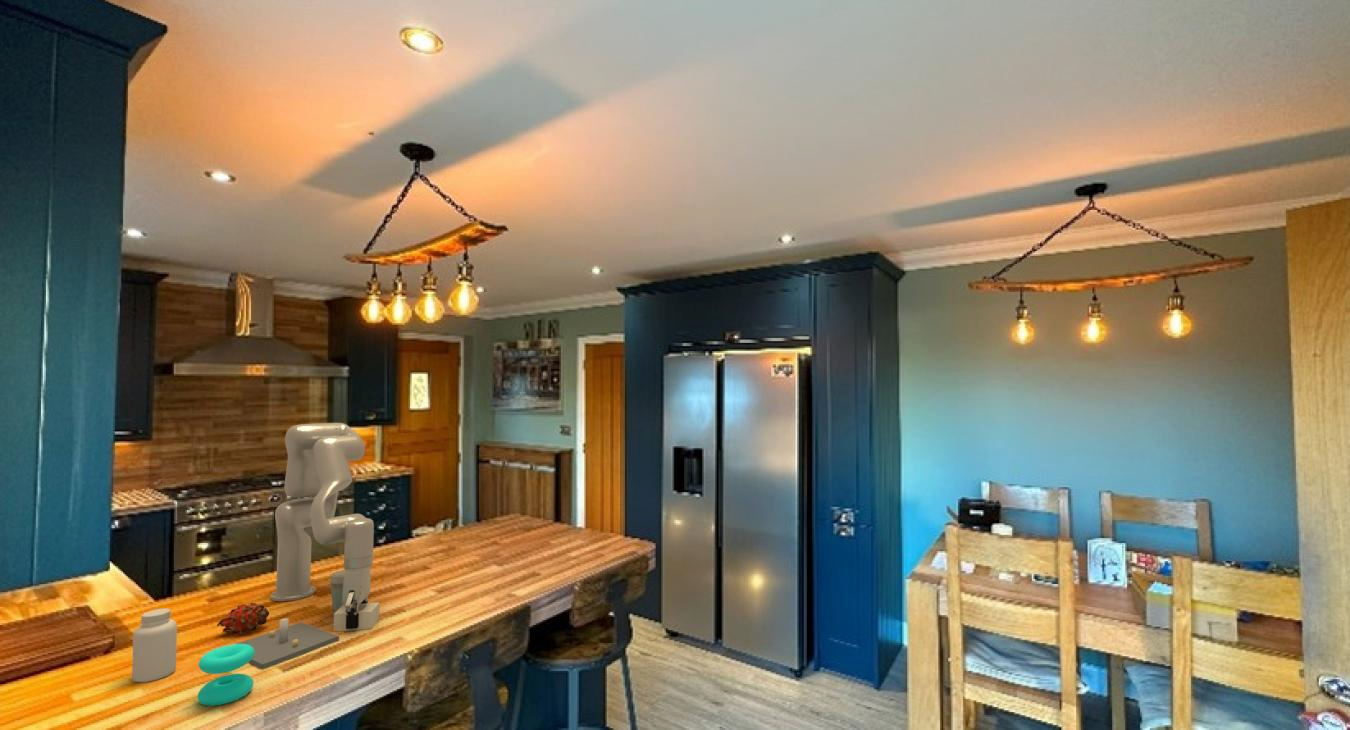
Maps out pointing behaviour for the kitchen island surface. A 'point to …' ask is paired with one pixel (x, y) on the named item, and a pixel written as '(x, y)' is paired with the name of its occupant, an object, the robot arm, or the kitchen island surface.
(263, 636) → the pin plate
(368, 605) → the flange block
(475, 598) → the kitchen island surface
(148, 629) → the pill bottle
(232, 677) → the donuts
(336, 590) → the coffee cup
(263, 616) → the dragon fruit
